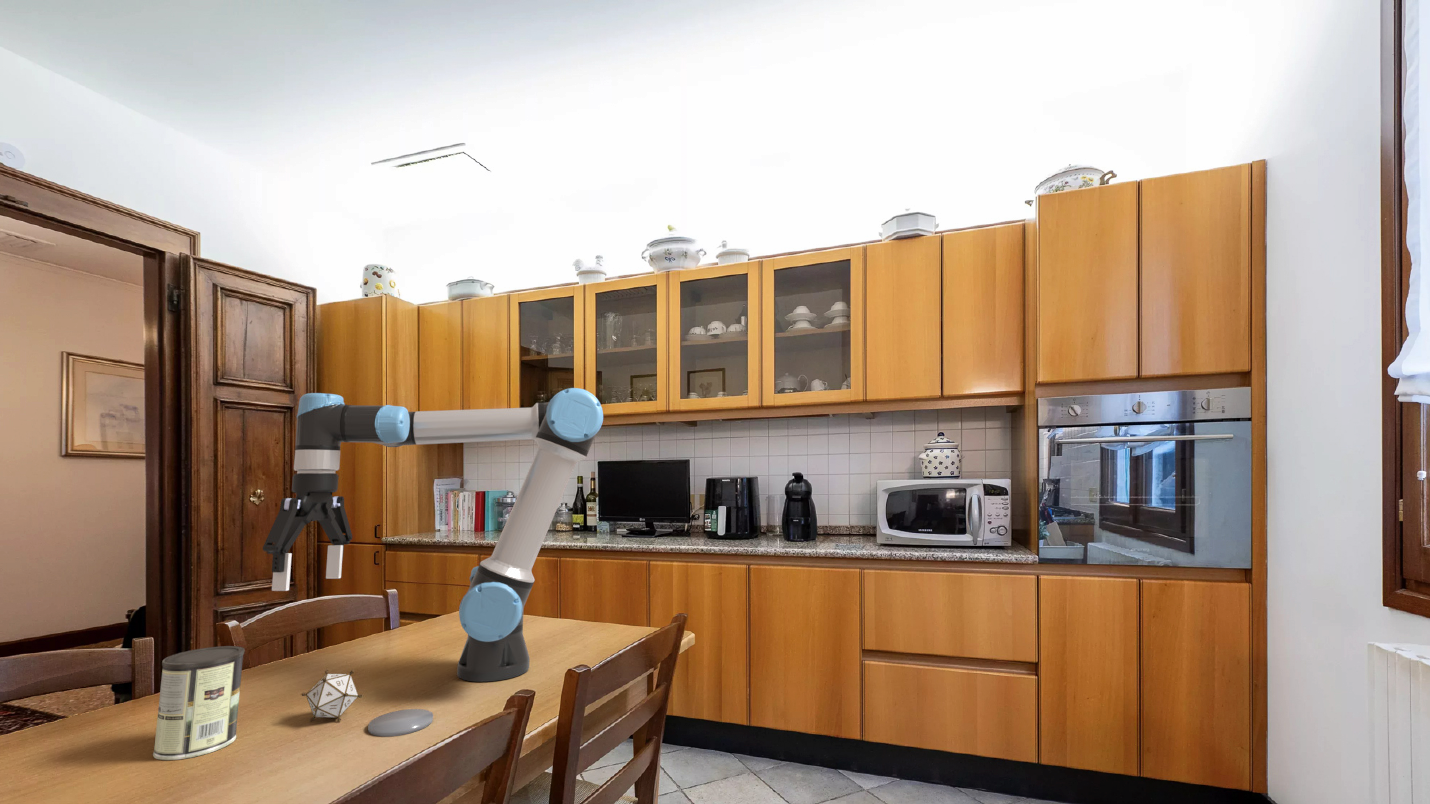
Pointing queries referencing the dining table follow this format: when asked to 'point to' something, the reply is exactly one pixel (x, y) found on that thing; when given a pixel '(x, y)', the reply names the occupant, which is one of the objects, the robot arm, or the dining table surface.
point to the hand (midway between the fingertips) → (308, 584)
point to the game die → (332, 695)
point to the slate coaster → (400, 722)
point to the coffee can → (198, 702)
